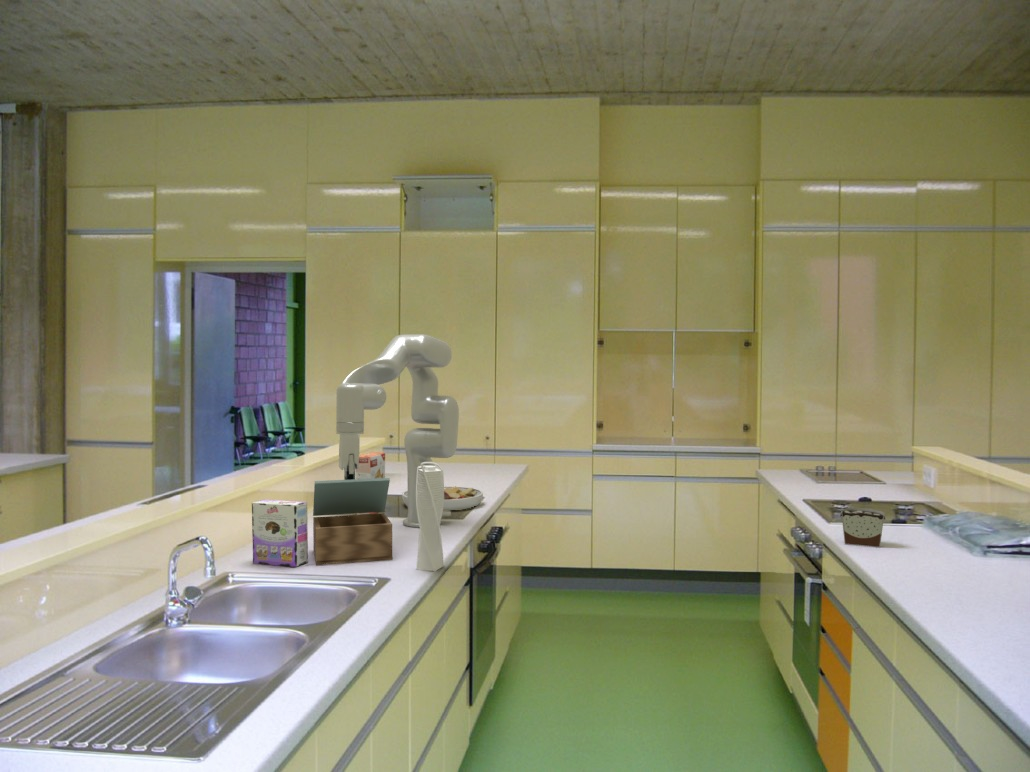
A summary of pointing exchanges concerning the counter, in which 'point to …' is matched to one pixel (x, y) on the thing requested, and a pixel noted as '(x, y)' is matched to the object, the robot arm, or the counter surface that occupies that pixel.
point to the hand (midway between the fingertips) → (349, 493)
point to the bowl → (456, 497)
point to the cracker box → (371, 468)
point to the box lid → (350, 496)
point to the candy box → (280, 532)
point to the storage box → (352, 538)
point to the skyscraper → (429, 516)
